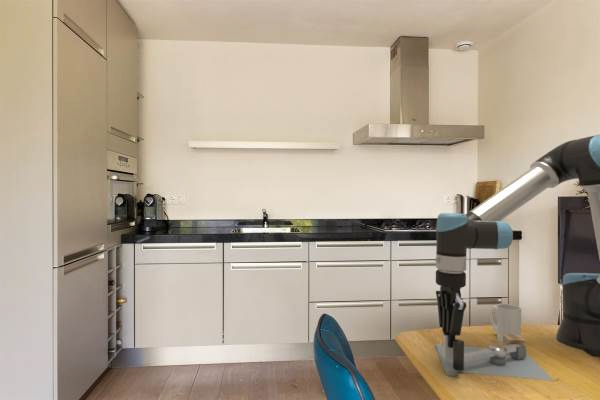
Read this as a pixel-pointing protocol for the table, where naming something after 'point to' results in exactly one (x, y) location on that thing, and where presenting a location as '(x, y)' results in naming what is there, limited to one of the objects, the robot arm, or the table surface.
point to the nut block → (513, 340)
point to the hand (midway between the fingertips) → (448, 357)
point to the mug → (506, 320)
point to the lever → (484, 353)
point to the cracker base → (495, 366)
